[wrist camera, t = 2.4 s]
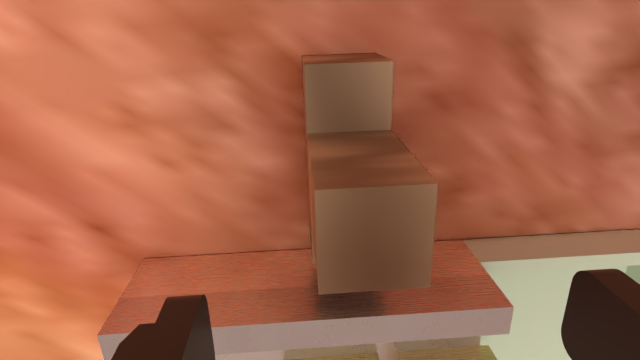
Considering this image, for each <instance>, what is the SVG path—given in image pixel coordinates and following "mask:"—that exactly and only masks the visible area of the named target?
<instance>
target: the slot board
mask: <svg viewBox="0 0 640 360" xmlns="http://www.w3.org/2000/svg"><path fill="white" fill-rule="evenodd" d="M202 294H204V295H205V296H206V298H207V302H208V309H209V316H210V322H211V329H212V336H213V343H214V350H215V360H287V359H301V358H315V357H329V356H343V355H357V354H370V353H378V356H379V360H396V352H398V351H412V350H426V349H440V348H454V347H467V346H479V345H480V337H481V336H488V335H502V334H509V333H510V327H511V321H512V315H513V309H514V306H513V305H512V304H511V303H510V301H509V300H508V299H507V297H506V296H505V295H504V293H503V292H502V291H501V289H500V288H499V287H498V285H497V284H496V283H495V282H494V280H493V279H492V278H491V276H490V275H489V274H488V272H487V271H486V270H485V268H484V267H483V266H482V265H481V263H480V262H479V261H478V259H477V258H476V257H475V255H474V254H473V253H472V251H471V250H470V249H469V248H468V246H467V245H466V244H465V242H464V241H463V240H448V241H434V246H433V259H432V271H431V284H430V287H428V288H412V289H397V290H382V291H366V292H351V293H335V294H320V295H319V294H318V284H317V274H316V264H313V262H312V250H311V249H298V250H281V251H264V252H247V253H231V254H214V255H197V256H181V257H164V258H147V259H143V261H142V262H141V264H140V266H139V267H138V269H137V271H136V272H135V274H134V276H133V277H132V279H131V281H130V282H129V284H128V285H127V287H126V289H125V290H124V292H123V294H122V295H121V297H120V299H119V300H118V302H117V304H116V305H115V307H114V309H113V310H112V312H111V313H110V315H109V317H108V318H107V320H106V322H105V323H104V325H103V327H102V328H101V330H100V332H99V333H98V335H97V336H98V340H99V343H100V347H101V350H102V354H103V357H104V360H111V359H112V357H113V355H114V353H115V351H116V349H117V347H118V345H119V343H121V342H122V341H123V340H124V339H125V338H126V337H127V336H128V335H129V334H130V333H131V332H132V331H133V330H134V329H135V328H136V327H137V326H138V325H139V324H149V323H155V322H156V320H157V317H158V315H159V313H160V310H161V308H162V306H163V304H164V301H165V299H166V298H167V297H172V296H187V295H202Z"/></svg>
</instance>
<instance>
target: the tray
mask: <svg viewBox="0 0 640 360" xmlns="http://www.w3.org/2000/svg"><path fill="white" fill-rule="evenodd" d="M463 241H464V242H465V244H466V245H467V246H468V248H469V249H470V250H471V251H472V253H473V254H474V255H475V257H476V258H477V259H478V261H479V262H480V263H481V265H482V266H483V267H484V268H485V270H486V271H487V272H488V274H489V275H490V276H491V278H492V279H493V280H494V282H495V283H496V284H497V285H498V287H499V288H500V289H501V291H502V292H503V293H504V295H505V296H506V297H507V299H508V300H509V301H510V303H511V304H512V305H513V306H514V309H513V315H512V321H511V327H510V333H509V334H502V335H488V336H481V337H480V345H479V346H481V345H489V347H490V348H491V350H492V352H493V353H494V355H495V357H496V358H497V360H572V359H571V358H570V357H569V355H568V354H567V352H566V350H565V348H564V345H563V342H562V337H561V326H562V321H563V317H564V312H565V308H566V304H567V299H568V295H569V290H570V286H571V282H572V278H573V276H574V275H575V273H577V272H578V271H583V270H598V269H618V270H621V271H622V272H624V273H625V274H626V275H628V276H629V277H630V278H632V279H633V280H634V281H636V282H637V283H638V284H640V229H632V230H615V231H599V232H582V233H565V234H548V235H532V236H515V237H498V238H482V239H465V240H463Z"/></svg>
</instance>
